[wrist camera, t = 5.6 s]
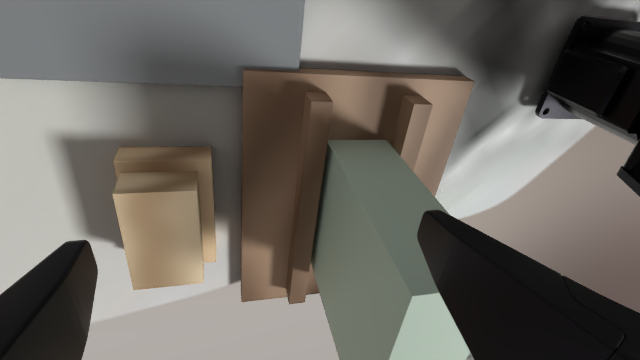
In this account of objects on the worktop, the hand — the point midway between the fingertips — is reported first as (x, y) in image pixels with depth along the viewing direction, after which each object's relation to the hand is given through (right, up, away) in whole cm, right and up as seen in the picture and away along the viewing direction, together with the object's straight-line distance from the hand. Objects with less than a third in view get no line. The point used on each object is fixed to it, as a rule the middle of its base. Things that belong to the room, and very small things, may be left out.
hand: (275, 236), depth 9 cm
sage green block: (+3, 0, +16) cm, 16 cm away
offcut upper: (-8, -1, +13) cm, 15 cm away
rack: (+3, 0, +17) cm, 17 cm away
